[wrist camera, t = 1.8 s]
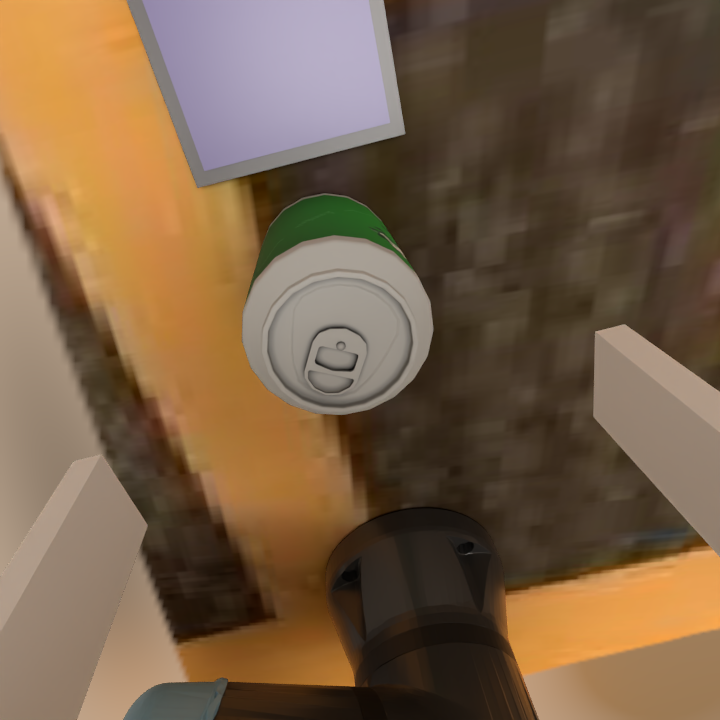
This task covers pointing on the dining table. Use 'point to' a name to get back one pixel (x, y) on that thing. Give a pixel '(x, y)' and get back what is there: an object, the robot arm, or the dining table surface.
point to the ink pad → (270, 79)
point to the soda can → (334, 309)
